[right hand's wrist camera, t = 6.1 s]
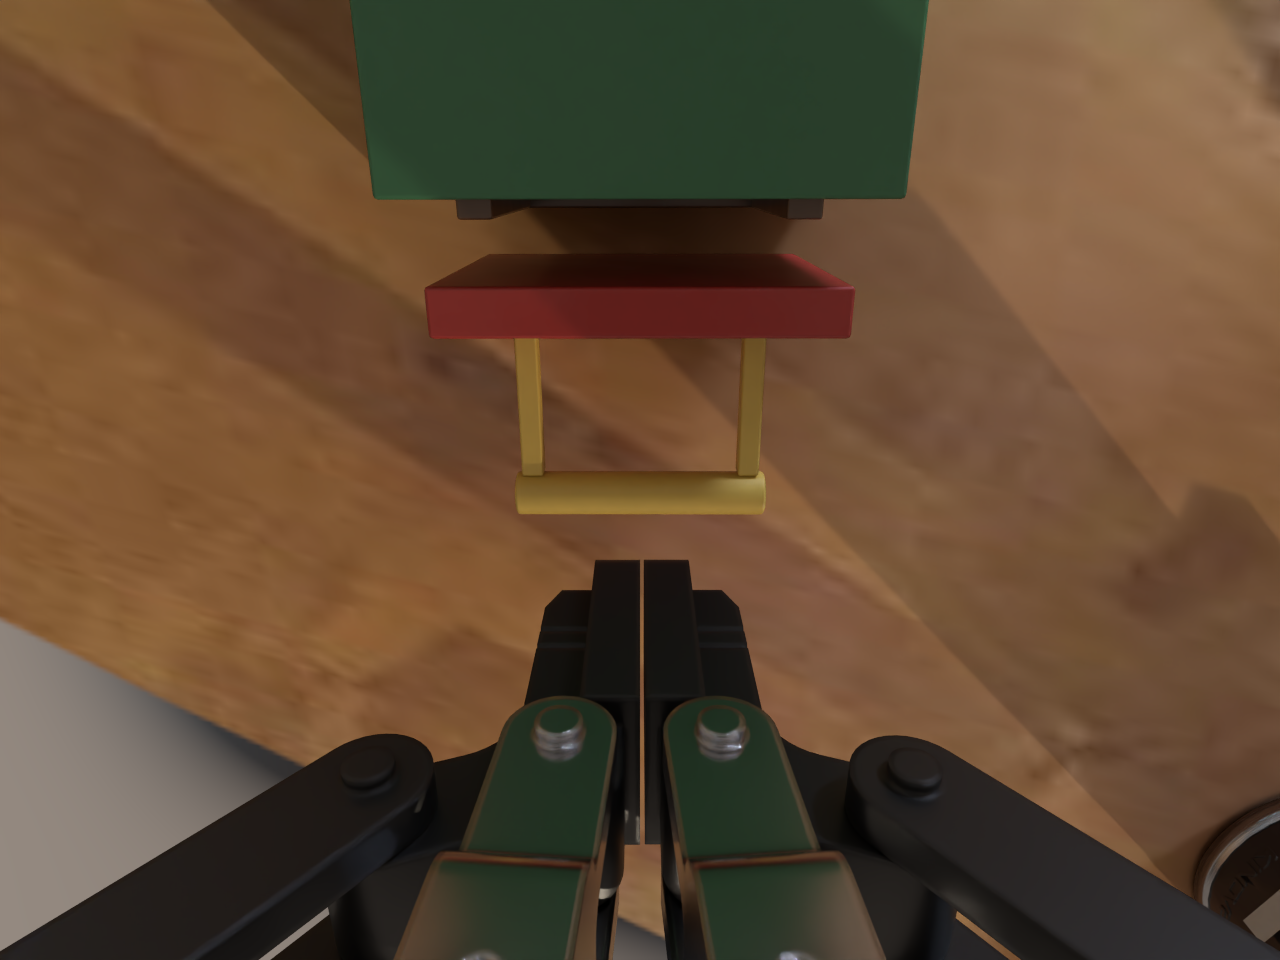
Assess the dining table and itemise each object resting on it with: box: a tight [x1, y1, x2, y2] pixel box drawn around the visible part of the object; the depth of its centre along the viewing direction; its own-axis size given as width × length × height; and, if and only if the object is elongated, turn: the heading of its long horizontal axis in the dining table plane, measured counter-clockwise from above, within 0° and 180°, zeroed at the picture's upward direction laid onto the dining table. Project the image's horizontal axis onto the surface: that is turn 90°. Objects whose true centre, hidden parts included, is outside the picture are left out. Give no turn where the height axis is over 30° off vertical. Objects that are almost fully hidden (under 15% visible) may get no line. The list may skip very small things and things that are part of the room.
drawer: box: [425, 199, 855, 514], centre depth 19 cm, size 24×10×8 cm, turn 0°
